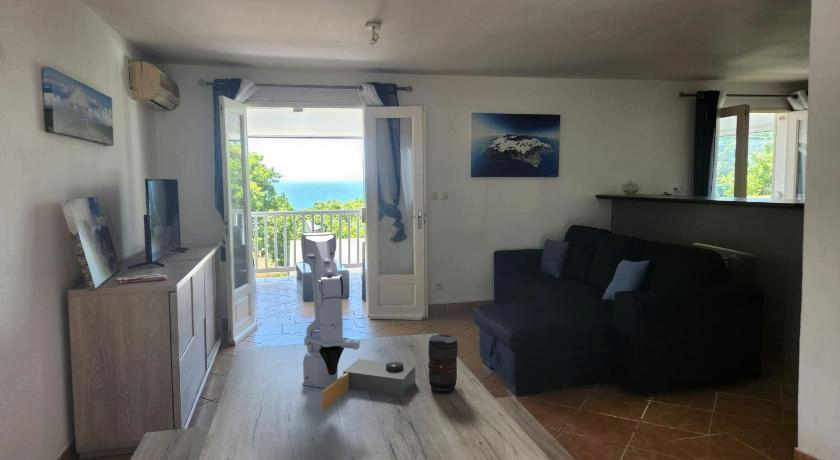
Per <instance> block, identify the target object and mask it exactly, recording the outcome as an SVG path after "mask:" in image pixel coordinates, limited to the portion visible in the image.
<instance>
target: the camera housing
mask: <svg viewBox="0 0 840 460" xmlns="http://www.w3.org/2000/svg"><path fill="white" fill-rule="evenodd" d="M347 372H348V373H349V390H354V391H360V392H366V393H371V394H382V395H388V396H395V397H401V398H403V397H404V396H405V395H406V394H407V393H408V392H409V391H410V390H411V388H412V387H413V386H414V385H415V384H416V366H415V365H409V364H403V362H400V361H391V362H385V361H377V360H368V359H361V358H358V359H357V360H356V361H355V362H353V363H352V364H351V365H349V366H348V367H346V368H345V369H344V370H343V372H342V373H343V375H344V374H345V373H347ZM343 375H342V376H343Z"/></svg>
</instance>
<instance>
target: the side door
mask: <svg viewBox="0 0 840 460" xmlns="http://www.w3.org/2000/svg"><path fill="white" fill-rule="evenodd" d="M348 391H350V389H349V373H348V372H347V373H345V374H344V375H341V377H340V378H339V379H337V380H336V381H335V382H333V383H332V384H331V385H329V386H328V387H327V388H323V390H322V391H321V409H322V410H327V408H329V407H330V406H331V405H333V404H334V403H335V402H336V401H337V400H338V399H340V398H341V397H342V396H343V395H345V394H346V393H347V392H348Z"/></svg>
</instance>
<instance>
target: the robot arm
mask: <svg viewBox="0 0 840 460" xmlns="http://www.w3.org/2000/svg"><path fill="white" fill-rule="evenodd" d="M336 237H337V236H336V233H335V232H334V231H329V232H302V234H301V236H300V245H301V258H302V260H303V262H302V263H304V264H306V265H309V269H310V271H311V277H312V278H311V282H312V294H313V295H312V296H313V306H314V320H313V321H311V322H310V323H309V324H308V325H307V328H306V329H305V330H306V332H305V333H306V336H305V337H304V346H306V350H307V351H306V353H305V354H304V357H303V361H302V371H303V382H302V385H303V386H310V387H316V388H321V389H326V388H327V387H328V386H329V385H331V384H332V383H333V382H335V381H336V380H337V379H339V378H340V377H341V376H342V375H341V376H340V375H339V373H338V372H339V371H338V369H339V362H340V359H341V356H342V353H343V351H344V350H345V349H353V350H354V351H357V350H359V349H360V348H361V346H360V344H361V343H360V342H361V341H360V340H359V339H353V338H349V337H345V336H344V331H343V330H344V329H343V325H344V324H343V323H344V322H343V299H344V295H345V281H344V278H343V276H342V274H340V273H339V271H338V266H337V263H336V262H335V256H336V251H337V238H336Z"/></svg>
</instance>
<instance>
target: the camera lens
mask: <svg viewBox="0 0 840 460" xmlns="http://www.w3.org/2000/svg"><path fill="white" fill-rule="evenodd" d="M458 349H459V347H458V339H457V337H456V336H454V335H450V334H443V333H442V334H441V333H440V334H434V335H431V336H429V341H428V360H429V361H428V362H427V366H428V367H427V368H428V381H429V382H428V383H429V386H430V391H431V392H432V393H434V394H436V395H449V394H452V393H454V392H455V389H456V385H457V378H458V369H457V367H458V361H457V360H458V352H459V351H458Z"/></svg>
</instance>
